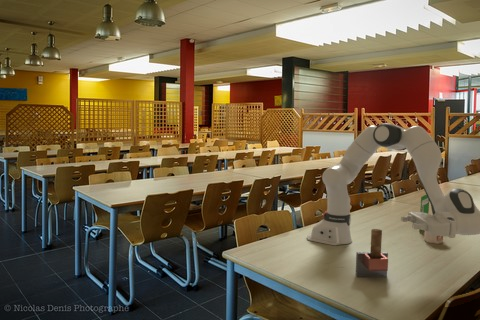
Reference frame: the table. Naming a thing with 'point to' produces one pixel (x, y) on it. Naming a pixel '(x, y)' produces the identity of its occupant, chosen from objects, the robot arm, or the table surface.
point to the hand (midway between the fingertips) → (407, 222)
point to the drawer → (371, 265)
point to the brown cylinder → (376, 243)
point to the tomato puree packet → (424, 205)
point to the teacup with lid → (432, 238)
